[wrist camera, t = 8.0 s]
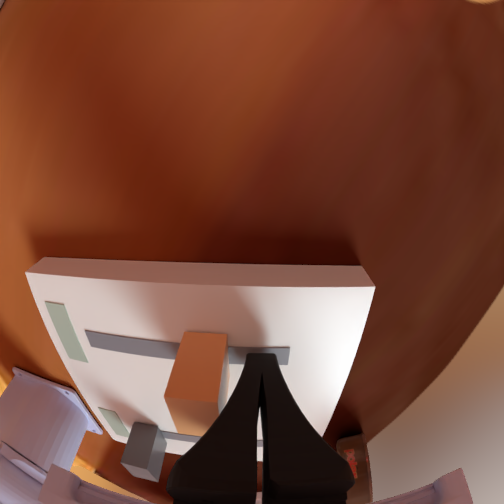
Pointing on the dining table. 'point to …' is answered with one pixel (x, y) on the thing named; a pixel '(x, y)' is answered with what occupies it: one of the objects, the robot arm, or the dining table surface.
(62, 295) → the board
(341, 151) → the dining table surface
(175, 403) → the switch
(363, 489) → the tin
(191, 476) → the robot arm
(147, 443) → the gray rectangular block
